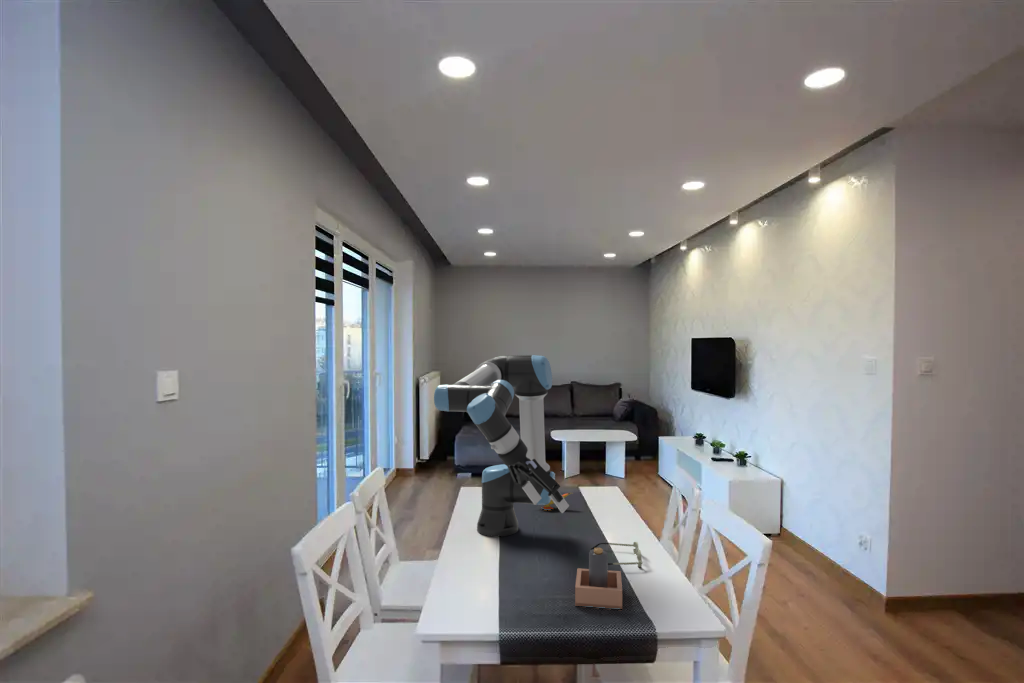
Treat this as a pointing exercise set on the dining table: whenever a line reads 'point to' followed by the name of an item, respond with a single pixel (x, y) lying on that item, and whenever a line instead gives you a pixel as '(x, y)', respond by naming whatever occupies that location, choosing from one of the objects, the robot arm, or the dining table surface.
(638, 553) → the sunglasses
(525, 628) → the dining table surface
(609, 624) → the dining table surface
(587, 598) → the terracotta rectangular open box
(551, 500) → the magic lamp
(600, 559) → the battery cell
